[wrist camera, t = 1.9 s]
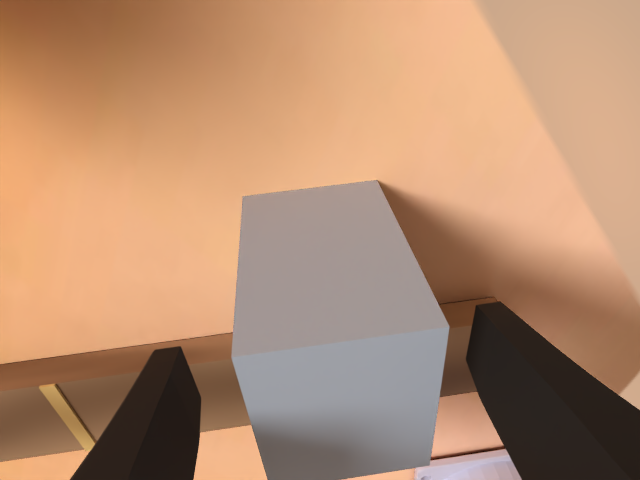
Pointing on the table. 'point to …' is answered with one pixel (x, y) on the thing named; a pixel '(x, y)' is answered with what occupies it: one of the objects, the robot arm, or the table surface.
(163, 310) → the table surface
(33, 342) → the table surface
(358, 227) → the grey tall block
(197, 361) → the board
